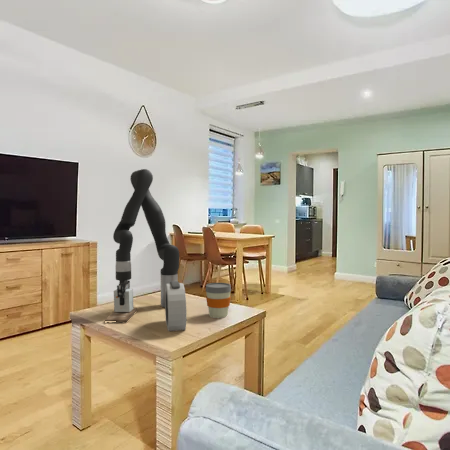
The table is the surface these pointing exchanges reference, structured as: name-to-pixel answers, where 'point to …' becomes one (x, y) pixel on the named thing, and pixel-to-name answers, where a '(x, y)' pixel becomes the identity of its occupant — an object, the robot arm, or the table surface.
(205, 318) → the table surface
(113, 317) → the walnut board
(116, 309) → the small box
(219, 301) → the reusable coffee cup
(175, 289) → the alarm clock
